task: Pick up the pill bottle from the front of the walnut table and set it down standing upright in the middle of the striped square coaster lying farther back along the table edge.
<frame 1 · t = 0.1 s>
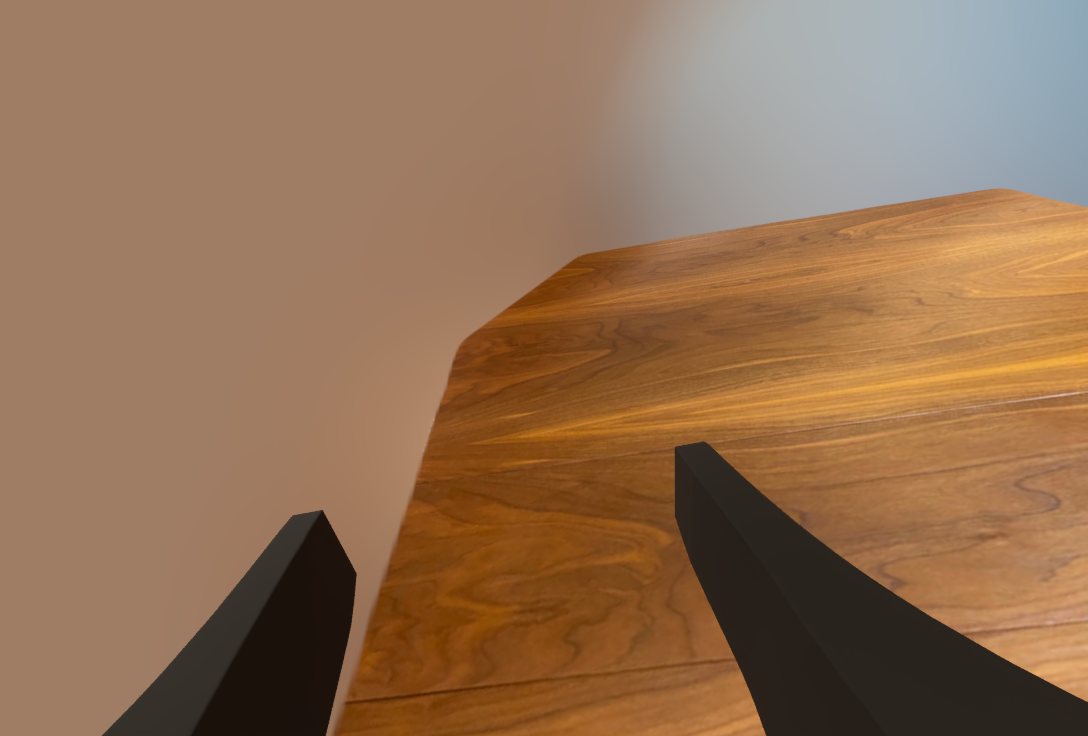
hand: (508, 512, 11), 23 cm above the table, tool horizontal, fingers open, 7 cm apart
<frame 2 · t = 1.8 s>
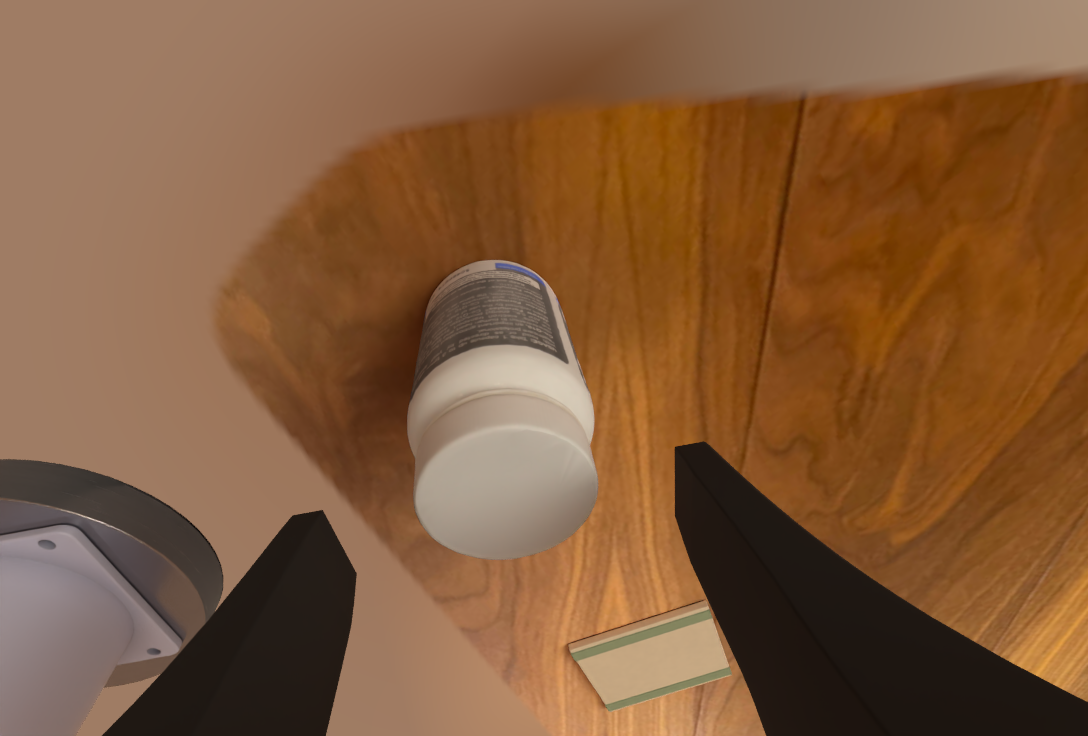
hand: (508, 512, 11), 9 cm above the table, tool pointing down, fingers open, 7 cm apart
striped square coaster: (653, 657, 31), on the table
pill bottle: (494, 319, 18), on the table
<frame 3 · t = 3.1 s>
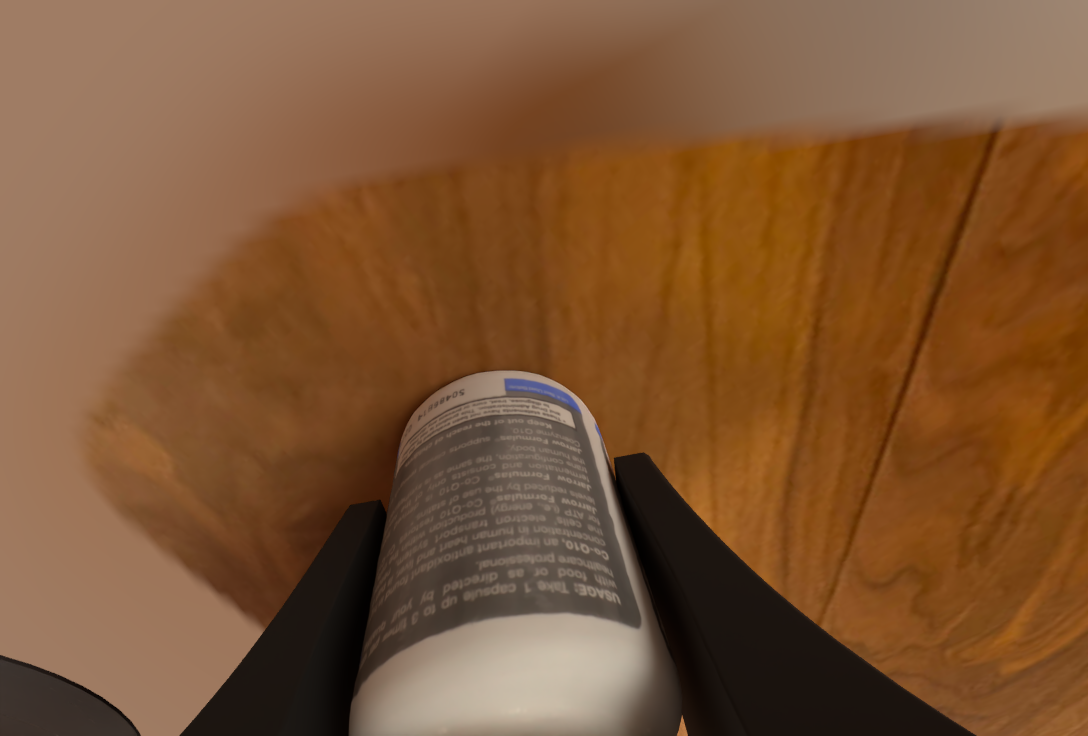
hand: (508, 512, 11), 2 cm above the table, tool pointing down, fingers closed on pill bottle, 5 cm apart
pill bottle: (502, 443, 13), on the table, touching gripper
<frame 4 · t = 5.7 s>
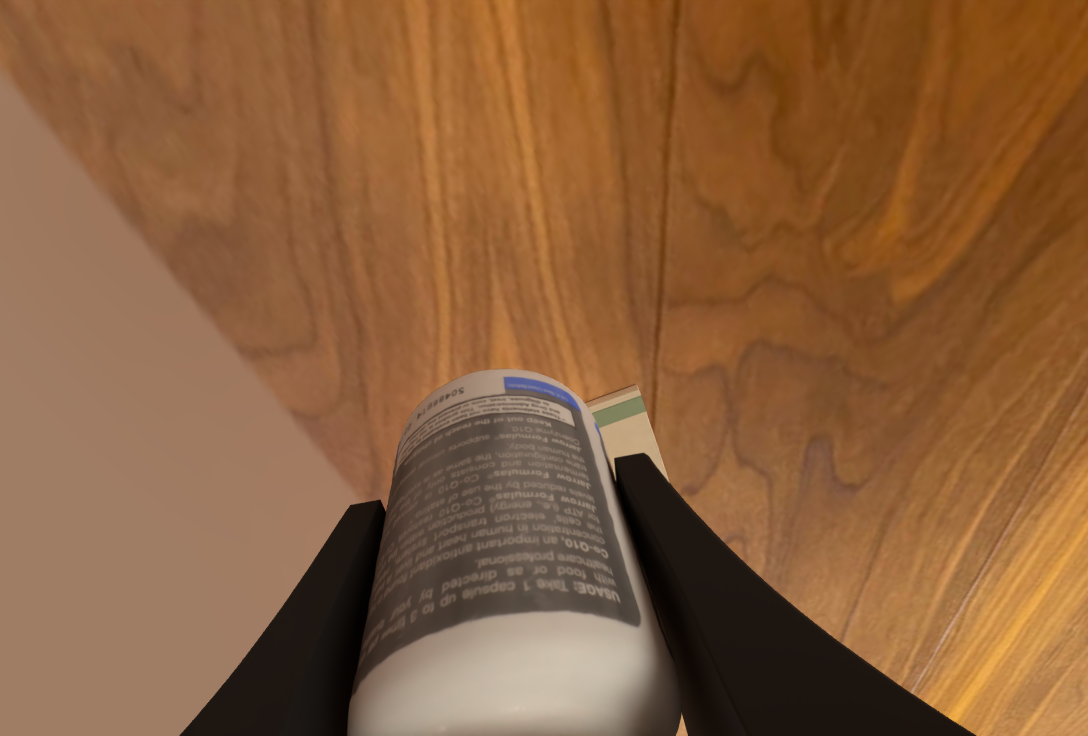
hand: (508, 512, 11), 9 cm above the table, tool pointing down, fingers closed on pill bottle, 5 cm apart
striped square coaster: (573, 483, 23), on the table
pill bottle: (501, 442, 13), point 7 cm above the table, touching gripper
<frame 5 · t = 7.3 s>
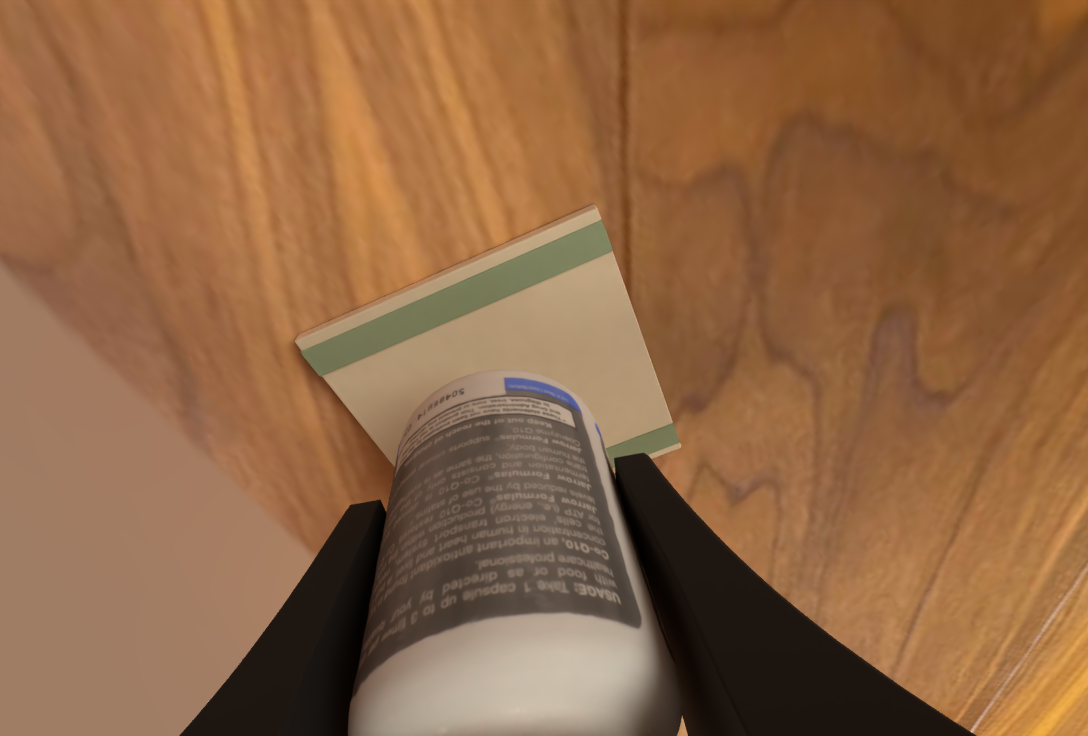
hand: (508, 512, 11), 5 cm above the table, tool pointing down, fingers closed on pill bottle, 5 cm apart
striped square coaster: (508, 392, 15), on the table
pill bottle: (502, 443, 13), point 2 cm above the table, touching gripper
when the fingers open (2 cm above the table, at t = 8.5 s): pill bottle stays where it is, resting on striped square coaster.
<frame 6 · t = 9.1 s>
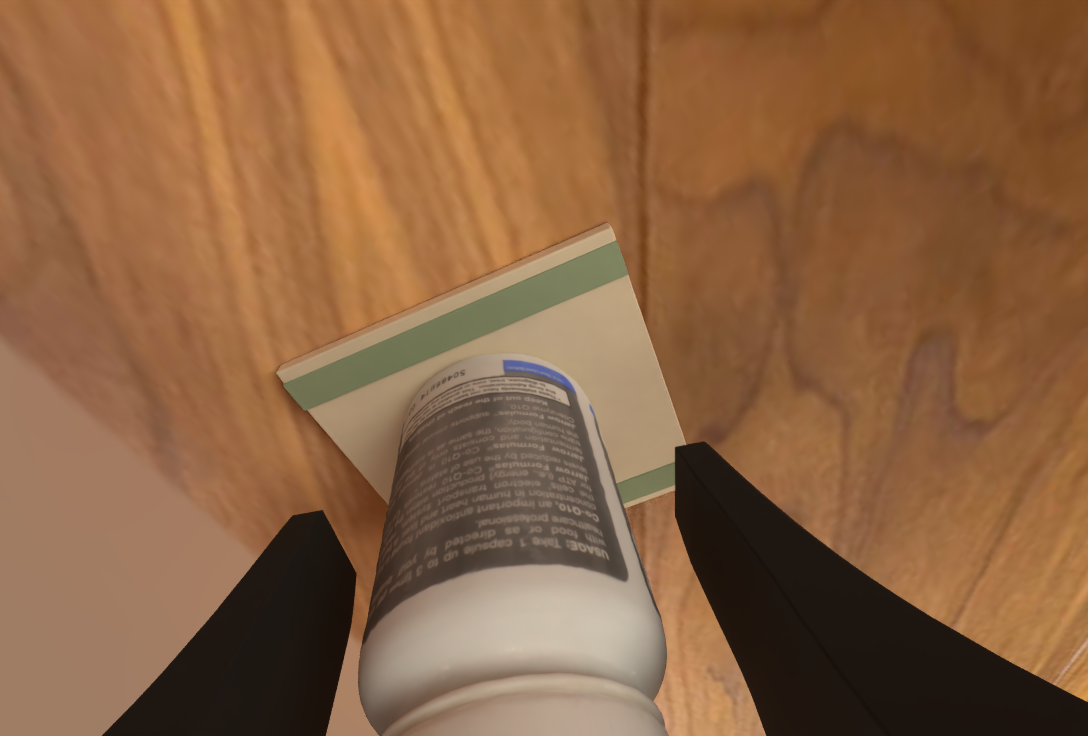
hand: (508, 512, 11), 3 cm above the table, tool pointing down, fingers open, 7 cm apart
striped square coaster: (512, 424, 14), on the table
pill bottle: (501, 424, 13), resting on striped square coaster
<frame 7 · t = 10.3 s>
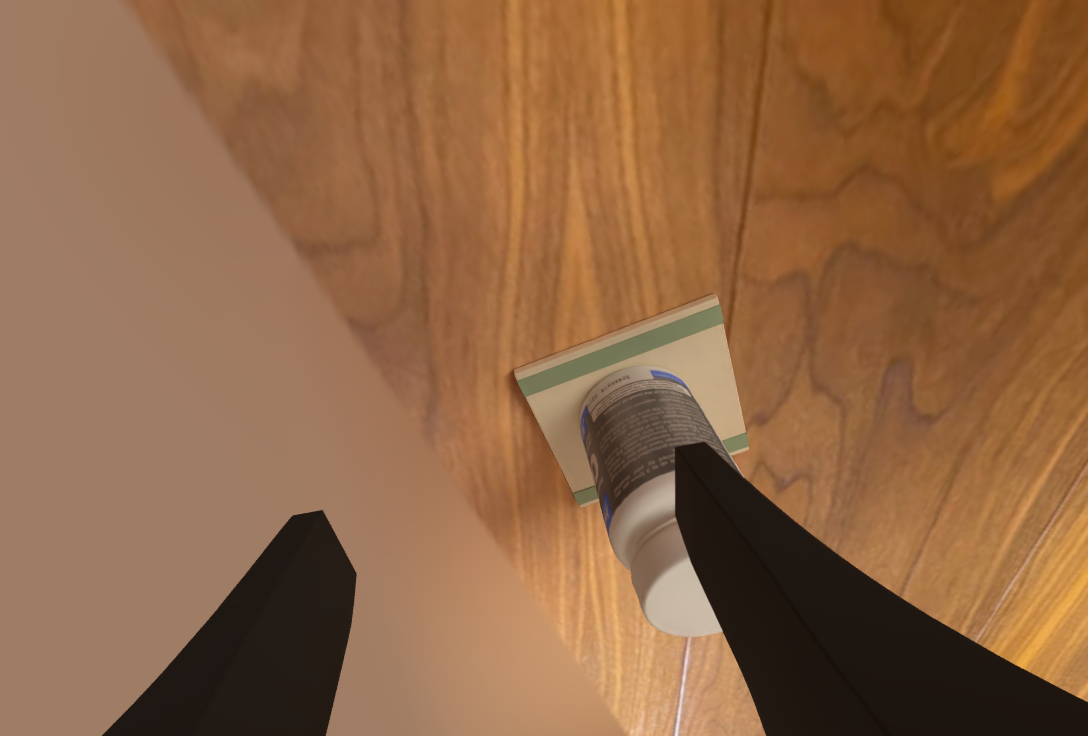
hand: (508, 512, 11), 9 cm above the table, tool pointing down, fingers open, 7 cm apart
striped square coaster: (638, 409, 22), on the table
pill bottle: (633, 409, 21), resting on striped square coaster
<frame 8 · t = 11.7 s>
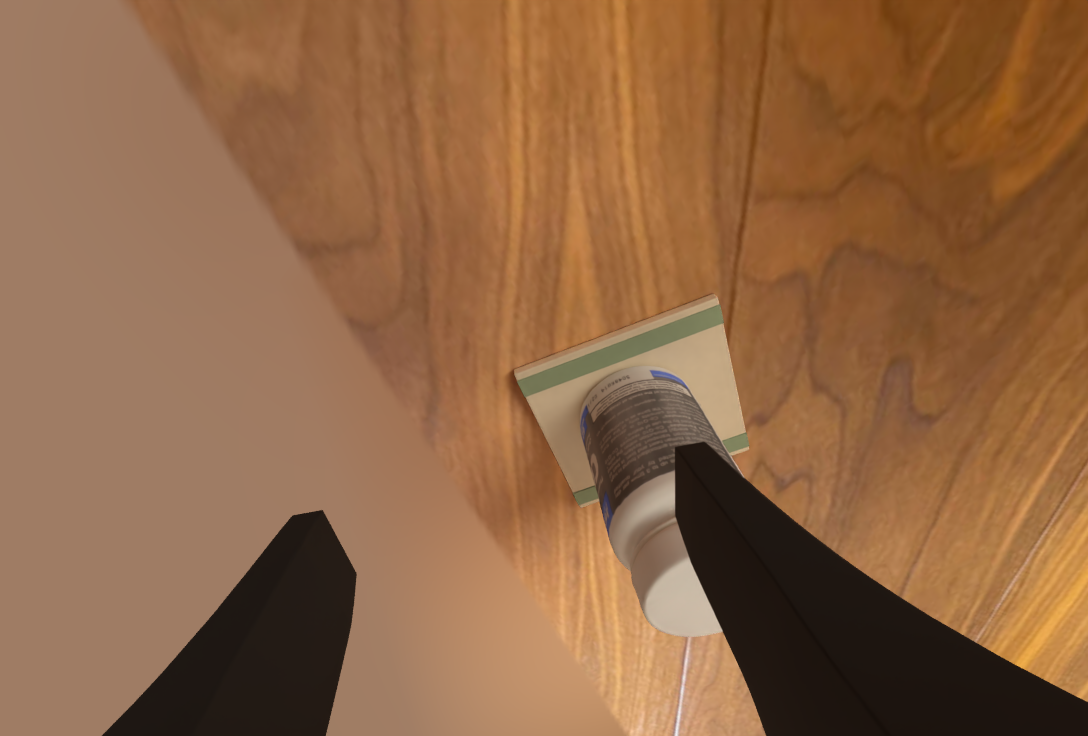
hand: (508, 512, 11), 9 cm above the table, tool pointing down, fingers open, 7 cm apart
striped square coaster: (638, 409, 22), on the table
pill bottle: (633, 409, 21), resting on striped square coaster
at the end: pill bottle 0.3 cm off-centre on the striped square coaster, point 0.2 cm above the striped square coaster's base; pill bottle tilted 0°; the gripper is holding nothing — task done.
